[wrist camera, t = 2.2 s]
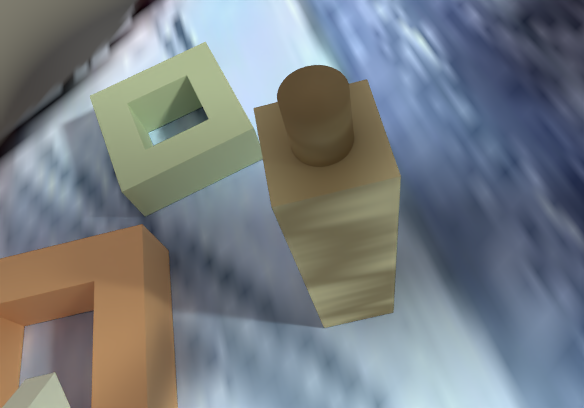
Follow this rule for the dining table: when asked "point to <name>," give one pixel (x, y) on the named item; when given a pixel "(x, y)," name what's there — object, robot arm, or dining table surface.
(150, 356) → the orange square frame
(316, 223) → the peg block
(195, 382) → the dining table surface
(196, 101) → the green square ring
